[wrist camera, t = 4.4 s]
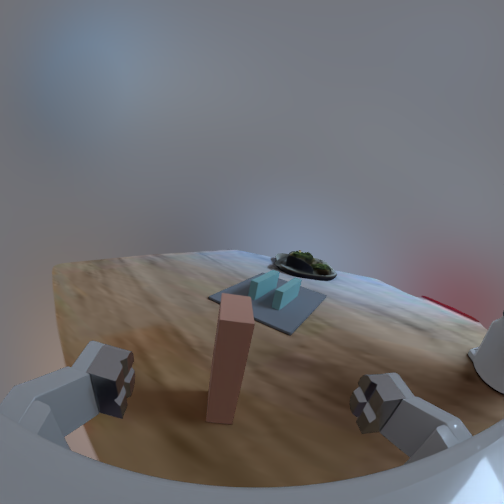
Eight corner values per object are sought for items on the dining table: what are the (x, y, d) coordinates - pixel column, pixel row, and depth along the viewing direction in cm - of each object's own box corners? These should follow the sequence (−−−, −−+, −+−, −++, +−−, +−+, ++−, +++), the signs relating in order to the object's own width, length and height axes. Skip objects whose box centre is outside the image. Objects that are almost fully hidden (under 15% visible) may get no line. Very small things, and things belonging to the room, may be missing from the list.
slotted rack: (269, 285, 58) (273, 269, 57) (297, 295, 55) (301, 279, 54) (247, 297, 50) (251, 280, 49) (279, 310, 47) (283, 292, 46)
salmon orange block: (232, 424, 22) (254, 323, 19) (206, 421, 22) (219, 319, 19) (231, 393, 27) (250, 296, 23) (208, 390, 26) (221, 292, 23)
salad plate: (267, 252, 85) (270, 238, 84) (321, 261, 87) (325, 248, 86) (274, 275, 67) (277, 257, 66) (340, 284, 68) (345, 268, 67)
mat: (262, 274, 65) (262, 272, 65) (325, 297, 58) (326, 295, 57) (208, 298, 48) (208, 296, 48) (290, 335, 41) (291, 333, 40)
